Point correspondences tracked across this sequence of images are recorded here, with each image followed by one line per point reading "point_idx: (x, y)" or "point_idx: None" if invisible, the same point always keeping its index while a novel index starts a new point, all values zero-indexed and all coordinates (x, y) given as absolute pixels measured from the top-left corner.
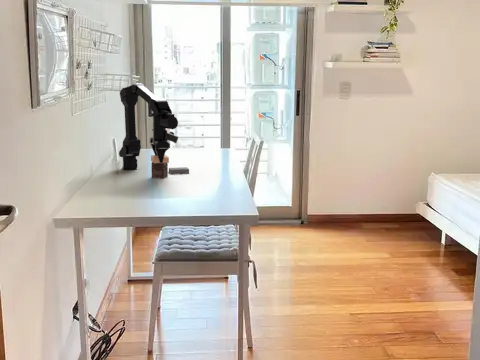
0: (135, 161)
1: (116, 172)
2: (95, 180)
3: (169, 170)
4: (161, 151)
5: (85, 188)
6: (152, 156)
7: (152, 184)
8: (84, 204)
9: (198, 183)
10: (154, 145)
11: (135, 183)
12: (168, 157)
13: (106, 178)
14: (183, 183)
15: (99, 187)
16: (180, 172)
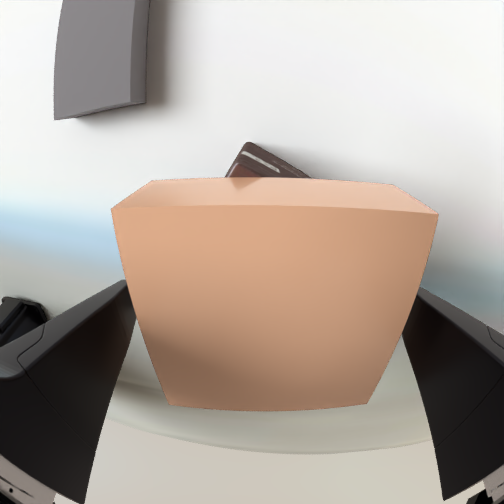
0: (10, 330)
1: (116, 385)
2: (273, 442)
3: (89, 112)
4: (497, 409)
5: (374, 444)
6: (262, 408)
7: (451, 293)
8: None
9: (500, 48)
10: (62, 479)
11: (392, 358)
12: (436, 219)
13: (245, 426)
14: (493, 122)
15: (383, 428)
16: (145, 24)
